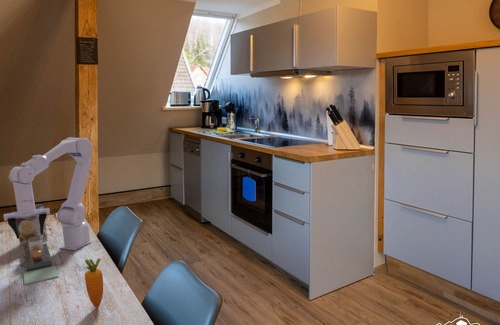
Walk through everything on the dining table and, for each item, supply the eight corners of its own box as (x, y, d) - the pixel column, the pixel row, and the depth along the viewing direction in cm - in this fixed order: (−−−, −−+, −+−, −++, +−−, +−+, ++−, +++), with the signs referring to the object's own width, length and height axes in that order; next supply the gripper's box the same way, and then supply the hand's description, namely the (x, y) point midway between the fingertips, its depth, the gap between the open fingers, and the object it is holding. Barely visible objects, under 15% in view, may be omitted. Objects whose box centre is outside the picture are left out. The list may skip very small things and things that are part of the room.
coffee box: (18, 245, 170) (13, 208, 167) (28, 240, 176) (23, 203, 173) (39, 245, 169) (34, 208, 166) (48, 240, 175) (44, 203, 172)
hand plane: (24, 253, 161) (22, 237, 160) (47, 249, 165) (45, 233, 164) (26, 272, 144) (24, 254, 143) (52, 266, 148) (49, 249, 146)
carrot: (108, 302, 120) (103, 254, 117) (103, 311, 115) (97, 261, 113) (91, 303, 120) (85, 255, 117) (85, 312, 115) (79, 262, 112)
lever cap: (29, 252, 155) (27, 237, 154) (43, 249, 157) (41, 235, 156) (30, 257, 150) (28, 242, 149) (44, 254, 152) (42, 239, 151)
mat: (23, 273, 142) (23, 272, 142) (55, 266, 147) (55, 265, 147) (24, 285, 134) (24, 283, 134) (58, 277, 139) (58, 276, 139)
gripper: (0, 205, 141) (6, 243, 144) (46, 199, 147) (51, 235, 149) (3, 200, 148) (8, 236, 150) (47, 195, 153) (52, 229, 156)
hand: (30, 235), depth 150 cm, fingers open, 7 cm apart
